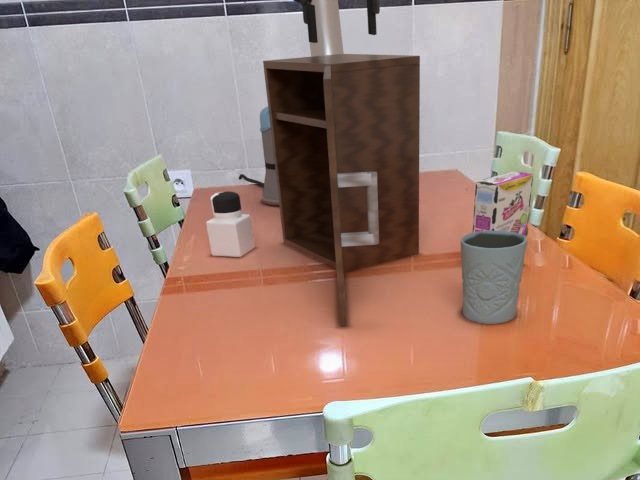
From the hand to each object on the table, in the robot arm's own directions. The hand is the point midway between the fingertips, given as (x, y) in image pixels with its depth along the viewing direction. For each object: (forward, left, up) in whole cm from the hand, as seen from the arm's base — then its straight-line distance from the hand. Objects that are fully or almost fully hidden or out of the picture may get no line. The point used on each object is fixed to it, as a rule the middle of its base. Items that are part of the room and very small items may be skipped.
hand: (342, 38), depth 135 cm
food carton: (+47, -15, -37) cm, 61 cm away
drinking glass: (+56, -35, -37) cm, 75 cm away
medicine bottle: (-8, -32, -37) cm, 49 cm away
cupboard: (+13, -18, -37) cm, 43 cm away
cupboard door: (+33, -39, -37) cm, 63 cm away
